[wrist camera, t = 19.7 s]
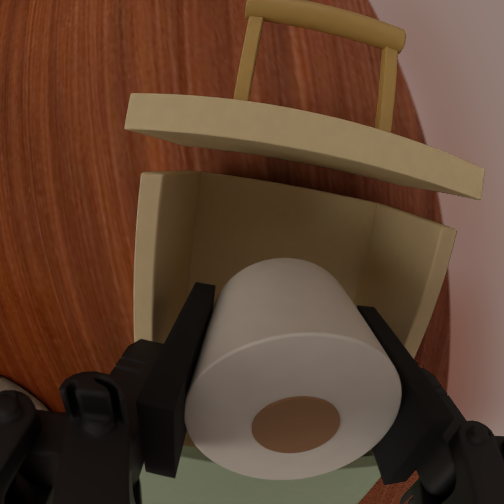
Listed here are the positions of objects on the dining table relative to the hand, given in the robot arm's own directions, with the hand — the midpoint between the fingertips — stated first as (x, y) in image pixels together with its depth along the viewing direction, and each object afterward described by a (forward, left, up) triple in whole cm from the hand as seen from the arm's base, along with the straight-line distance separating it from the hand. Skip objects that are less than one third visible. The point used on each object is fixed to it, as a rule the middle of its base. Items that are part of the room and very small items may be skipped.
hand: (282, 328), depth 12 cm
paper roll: (0, 0, 0) cm, 0 cm away
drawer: (0, -2, -6) cm, 7 cm away
